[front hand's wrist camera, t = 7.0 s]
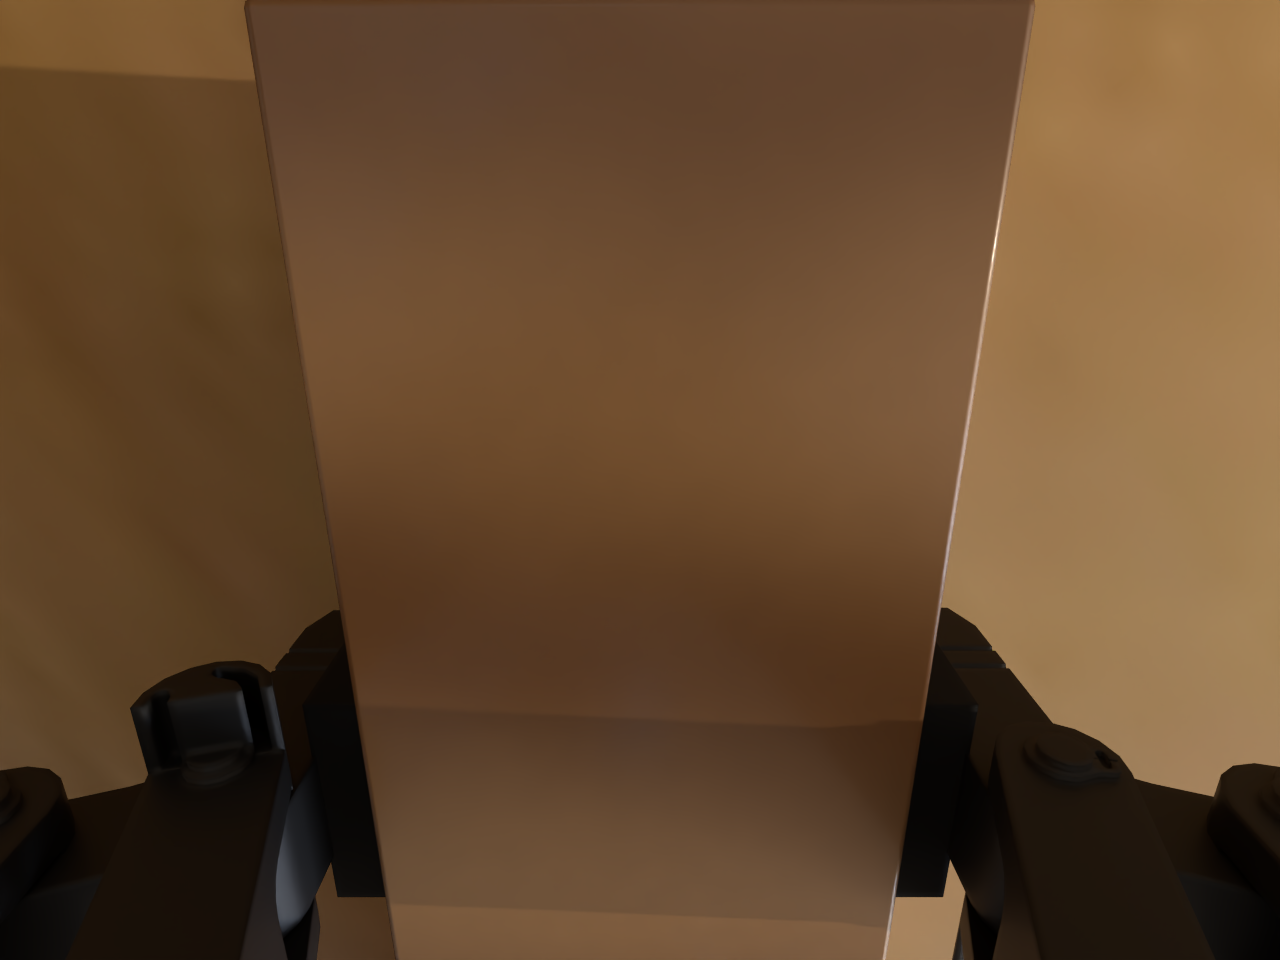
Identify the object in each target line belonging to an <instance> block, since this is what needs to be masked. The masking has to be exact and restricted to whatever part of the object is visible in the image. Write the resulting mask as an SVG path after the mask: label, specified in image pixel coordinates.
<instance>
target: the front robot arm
mask: <svg viewBox="0 0 1280 960" xmlns="http://www.w3.org/2000/svg"><path fill="white" fill-rule="evenodd" d="M130 710H131V714H132V717H133V721H134V724H135V728H136V732H137V735H138V739H139V742H140V746H141V749H142V753H143V757H144V760H145V764H146V767H147V771H148V776H147V778H146V780H145V783H141V784H137V785H134V786H130V787H126V788H121V789H117V790H112V791H107V792H103V793H98V794H93V795H89V796H84V797H79V798H75V799H70V800H68V798H67V795H66V792H65V789H64V786H63V783H62V780H61V778H60V777H59V776H58V775H56V774H55V773H54V772H52V771H51V770H50V769H45V768H36V767H21V768H14V769H7V770H1V771H0V960H317V951H318V943H319V934H320V921H319V914H318V908H317V903H316V898H315V895H316V893H317V891H318V889H319V886H320V884H321V882H322V880H323V878H324V876H325V874H326V872H327V869H328V867H329V865H330V863H331V864H332V869H333V875H334V880H335V885H336V891H337V896H338V897H386V896H385V890H384V883H383V877H382V871H381V864H380V858H379V852H378V846H377V839H376V833H375V827H374V820H373V814H372V808H371V802H370V795H369V789H368V783H367V776H366V770H365V764H364V758H363V751H362V745H361V739H360V732H359V726H358V720H357V714H356V707H355V701H354V695H353V689H352V682H351V676H350V670H349V663H348V657H347V651H346V645H345V638H344V632H343V626H342V619H341V613H340V610H333V611H332V612H330V613H329V614H327V615H325V616H324V617H322V618H321V619H319V620H318V621H316V622H315V623H313V624H312V625H310V626H308V627H307V628H306V629H305V630H304V631H303V633H302V634H301V635H300V636H299V638H298V639H297V640H296V641H295V643H294V644H293V645H292V646H291V648H290V649H289V653H286V654H285V655H284V657H283V658H282V659H281V660H280V662H279V663H278V664H277V666H276V670H275V671H272V672H271V673H270V672H269V671H267V670H266V669H265V668H264V667H262V666H261V665H259V664H255V663H250V662H245V661H224V662H214V663H210V664H206V665H201V666H197V667H193V668H189V669H187V670H185V671H182V672H180V673H177V674H175V675H173V676H170V677H168V678H165V679H164V680H162V681H161V682H159V683H158V684H156V685H154V686H153V687H151V688H150V689H148V690H147V691H145V692H144V693H143V694H142V695H141V696H140V697H139V698H138V700H137V701H136V702H135V703H134V704H133V705H132V706H131V708H130ZM950 860H951V862H952V864H953V866H954V868H955V870H956V873H957V875H958V877H959V879H960V881H961V883H962V885H963V887H964V889H965V892H966V893H965V898H964V903H963V908H962V913H961V918H960V923H959V928H958V933H957V938H956V943H955V948H954V953H953V958H952V960H1280V767H1276V766H1269V765H1262V764H1256V763H1253V764H1244V765H1236V766H1232V767H1231V768H1229V769H1228V770H1227V771H1226V772H1224V773H1223V774H1222V775H1221V777H1220V780H1219V783H1218V786H1217V789H1216V792H1215V795H1214V797H1212V796H1207V795H1203V794H1198V793H1193V792H1189V791H1184V790H1179V789H1175V788H1170V787H1165V786H1161V785H1156V784H1151V783H1148V782H1144V781H1141V780H1137V779H1134V777H1133V775H1132V773H1131V771H1130V770H1129V769H1128V767H1127V766H1126V764H1125V763H1124V762H1123V760H1122V759H1121V758H1120V756H1119V755H1117V754H1116V753H1115V752H1113V751H1112V750H1111V749H1109V748H1108V747H1107V746H1105V745H1104V744H1103V743H1101V742H1100V741H1098V740H1096V739H1094V738H1092V737H1090V736H1088V735H1086V734H1084V733H1082V732H1079V731H1077V730H1075V729H1072V728H1068V727H1064V726H1061V725H1057V724H1053V723H1052V722H1051V721H1050V719H1049V718H1048V717H1047V715H1046V714H1045V713H1044V712H1043V710H1042V709H1041V708H1040V707H1039V705H1038V704H1037V703H1036V702H1035V700H1034V699H1033V698H1032V697H1031V695H1030V694H1029V693H1028V692H1027V690H1026V689H1025V688H1024V686H1023V685H1022V684H1021V683H1020V681H1019V680H1018V679H1017V678H1016V676H1015V675H1014V674H1013V673H1012V671H1011V670H1010V669H1006V664H1005V663H1004V661H1003V660H1002V659H1001V657H1000V656H999V655H998V654H997V652H996V651H992V646H991V645H990V644H989V642H988V641H987V640H986V639H985V637H984V636H983V635H982V634H981V632H980V631H979V630H978V628H977V627H976V626H975V625H973V624H972V623H970V622H969V621H967V620H966V619H964V618H963V617H961V616H959V615H958V614H956V613H955V612H953V611H952V610H950V609H949V608H941V610H940V617H939V623H938V629H937V636H936V642H935V648H934V655H933V661H932V668H931V674H930V680H929V687H928V693H927V699H926V706H925V712H924V719H923V725H922V731H921V738H920V744H919V750H918V757H917V763H916V770H915V776H914V782H913V789H912V795H911V801H910V808H909V814H908V821H907V827H906V833H905V840H904V846H903V852H902V859H901V865H900V872H899V878H898V884H897V891H896V897H943V894H944V889H945V884H946V878H947V873H948V867H949V862H950Z"/></svg>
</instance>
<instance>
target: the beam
mask: <svg viewBox="0 0 1280 960" xmlns="http://www.w3.org/2000/svg"><path fill="white" fill-rule="evenodd" d="M244 10H245V16H246V23H247V29H248V35H249V41H250V48H251V54H252V60H253V67H254V73H255V79H256V85H257V92H258V98H259V104H260V111H261V117H262V123H263V129H264V136H265V142H266V148H267V155H268V161H269V167H270V173H271V180H272V186H273V192H274V198H275V205H276V211H277V217H278V224H279V230H280V236H281V242H282V249H283V255H284V261H285V268H286V274H287V280H288V286H289V293H290V299H291V305H292V312H293V318H294V324H295V330H296V337H297V343H298V349H299V356H300V362H301V368H302V374H303V381H304V387H305V393H306V400H307V406H308V412H309V418H310V425H311V431H312V437H313V443H314V450H315V456H316V462H317V469H318V475H319V481H320V487H321V494H322V500H323V506H324V513H325V519H326V525H327V531H328V538H329V544H330V550H331V557H332V563H333V569H334V575H335V582H336V588H337V594H338V601H339V607H340V613H341V619H342V626H343V632H344V638H345V645H346V651H347V657H348V663H349V670H350V676H351V682H352V689H353V695H354V701H355V707H356V714H357V720H358V726H359V732H360V739H361V745H362V751H363V758H364V764H365V770H366V776H367V783H368V789H369V795H370V802H371V808H372V814H373V820H374V827H375V833H376V839H377V846H378V852H379V858H380V864H381V871H382V877H383V883H384V890H385V896H386V902H387V908H388V915H389V921H390V927H391V934H392V940H393V946H394V952H395V959H396V960H886V954H887V948H888V942H889V935H890V929H891V923H892V916H893V910H894V903H895V897H896V891H897V884H898V878H899V872H900V865H901V859H902V852H903V846H904V840H905V833H906V827H907V821H908V814H909V808H910V801H911V795H912V789H913V782H914V776H915V770H916V763H917V757H918V750H919V744H920V738H921V731H922V725H923V719H924V712H925V706H926V699H927V693H928V687H929V680H930V674H931V668H932V661H933V655H934V648H935V642H936V636H937V629H938V623H939V617H940V610H941V604H942V597H943V591H944V585H945V578H946V572H947V566H948V559H949V553H950V546H951V540H952V534H953V527H954V521H955V515H956V508H957V502H958V495H959V489H960V483H961V476H962V470H963V464H964V457H965V451H966V444H967V438H968V432H969V425H970V419H971V413H972V406H973V400H974V393H975V387H976V381H977V374H978V368H979V362H980V355H981V349H982V342H983V336H984V330H985V323H986V317H987V311H988V304H989V298H990V291H991V285H992V279H993V272H994V266H995V260H996V253H997V247H998V240H999V234H1000V228H1001V221H1002V215H1003V209H1004V202H1005V196H1006V189H1007V183H1008V177H1009V170H1010V164H1011V158H1012V151H1013V145H1014V138H1015V132H1016V126H1017V119H1018V113H1019V107H1020V100H1021V94H1022V87H1023V81H1024V75H1025V68H1026V62H1027V56H1028V49H1029V43H1030V36H1031V30H1032V24H1033V17H1034V11H1035V2H1034V0H247V1H245V7H244Z"/></svg>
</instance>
